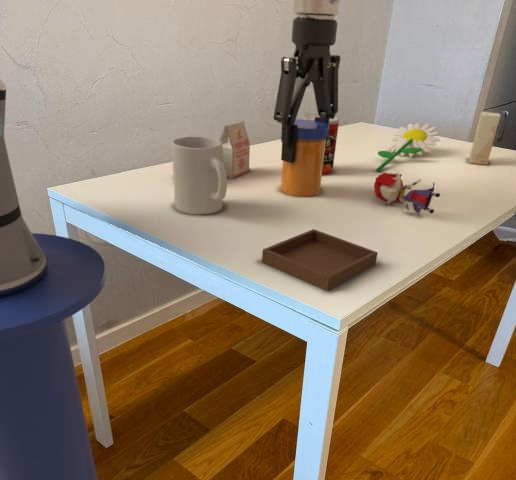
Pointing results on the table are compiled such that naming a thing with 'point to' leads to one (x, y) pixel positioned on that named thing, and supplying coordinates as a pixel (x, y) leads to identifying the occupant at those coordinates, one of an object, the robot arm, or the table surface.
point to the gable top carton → (235, 149)
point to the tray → (319, 258)
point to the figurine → (403, 192)
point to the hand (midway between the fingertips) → (303, 157)
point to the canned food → (328, 143)
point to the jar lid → (311, 129)
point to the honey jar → (304, 169)
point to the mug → (198, 175)
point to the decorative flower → (410, 142)
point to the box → (484, 137)
